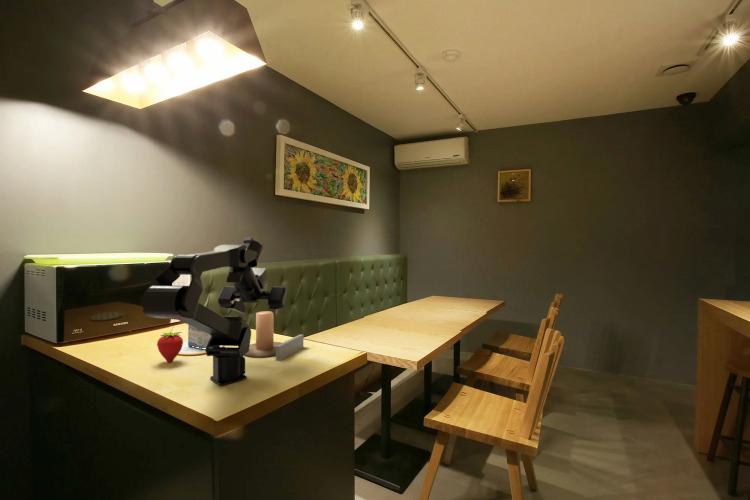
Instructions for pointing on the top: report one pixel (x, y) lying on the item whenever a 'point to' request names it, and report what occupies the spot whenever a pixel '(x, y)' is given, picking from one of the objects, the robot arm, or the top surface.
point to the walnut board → (261, 354)
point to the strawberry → (170, 345)
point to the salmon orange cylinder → (264, 330)
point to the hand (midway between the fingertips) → (261, 313)
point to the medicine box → (197, 337)
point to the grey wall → (289, 347)
